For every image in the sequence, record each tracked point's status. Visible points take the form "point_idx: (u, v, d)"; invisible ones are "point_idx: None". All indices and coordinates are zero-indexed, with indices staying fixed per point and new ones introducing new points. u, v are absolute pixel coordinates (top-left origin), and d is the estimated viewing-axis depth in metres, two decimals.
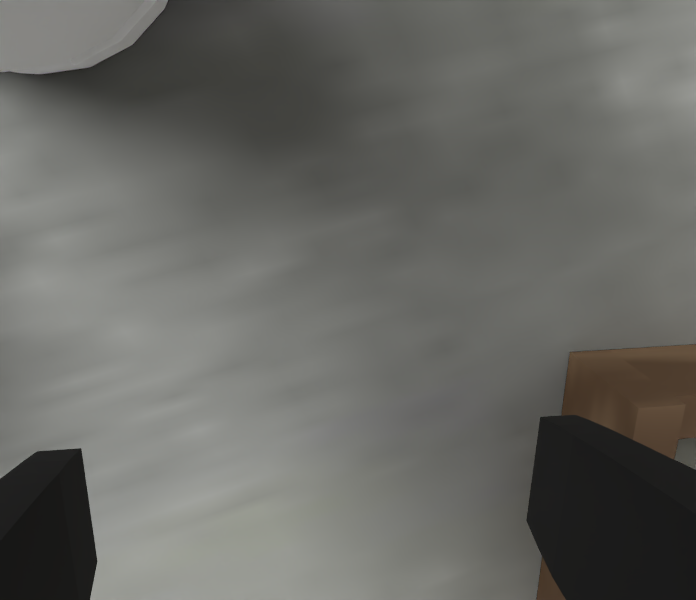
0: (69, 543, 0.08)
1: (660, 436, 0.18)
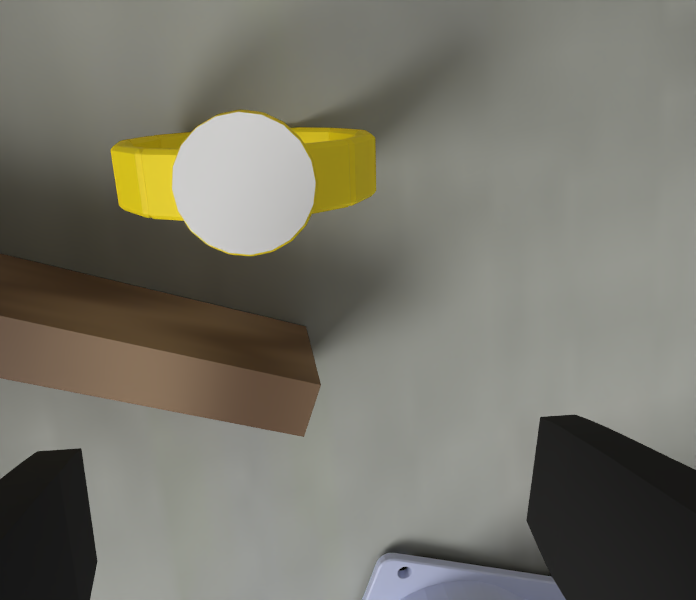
0: (69, 543, 0.08)
1: None
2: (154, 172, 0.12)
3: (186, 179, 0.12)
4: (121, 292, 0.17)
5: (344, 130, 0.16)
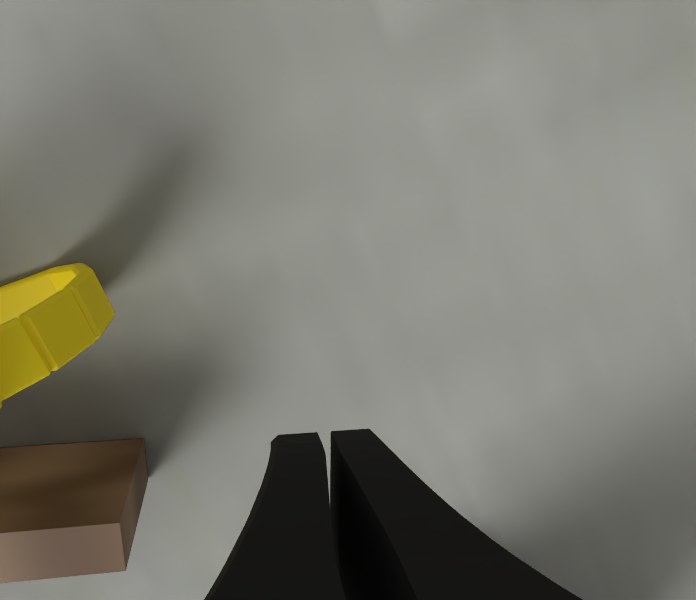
0: None
1: None
2: None
3: None
4: None
5: (76, 270, 0.16)
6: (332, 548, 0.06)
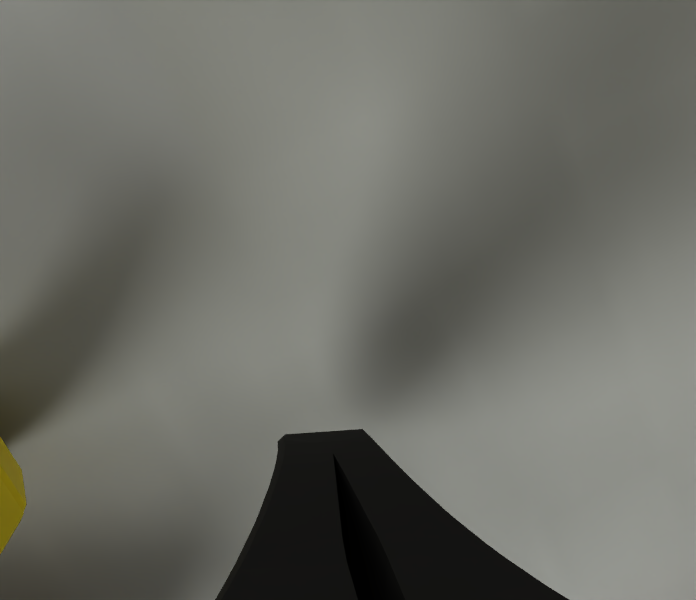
0: None
1: None
2: None
3: None
4: None
5: None
6: (342, 547, 0.06)
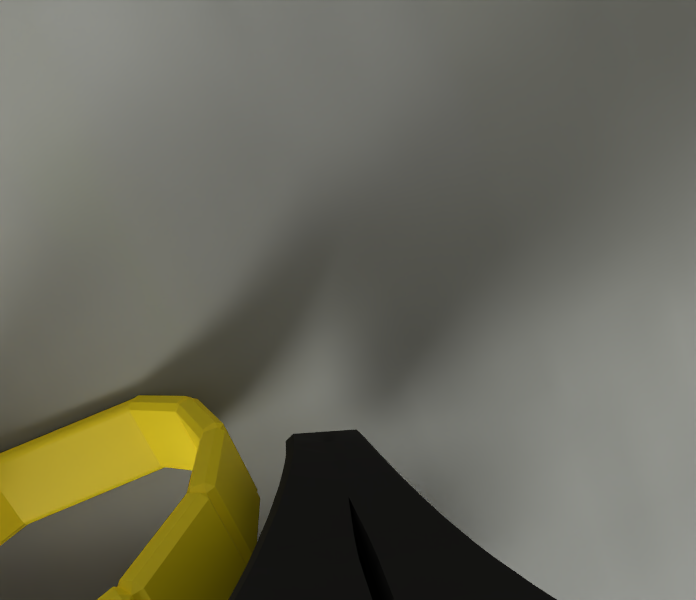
0: None
1: None
2: None
3: None
4: None
5: (190, 419, 0.09)
6: (354, 546, 0.06)
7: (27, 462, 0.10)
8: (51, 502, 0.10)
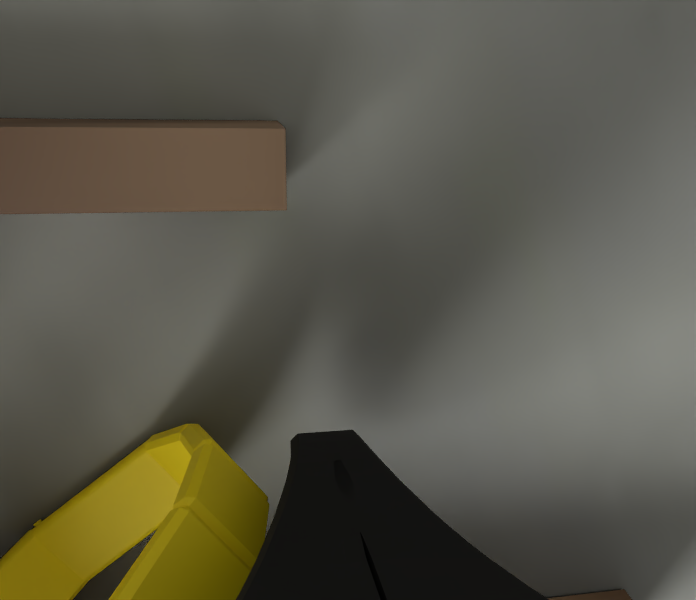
0: None
1: None
2: None
3: None
4: None
5: (186, 443, 0.09)
6: (361, 545, 0.06)
7: (69, 522, 0.11)
8: (102, 555, 0.11)
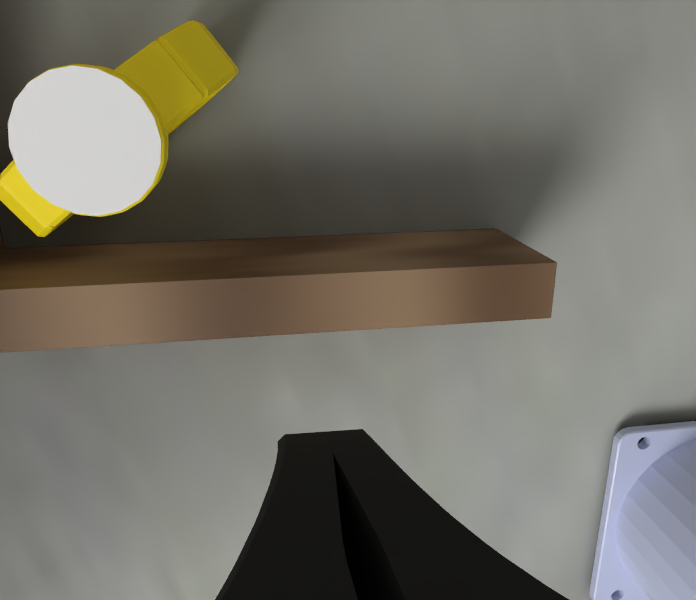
0: None
1: None
2: (20, 187, 0.12)
3: (36, 172, 0.11)
4: (329, 241, 0.18)
5: None
6: (342, 547, 0.06)
7: None
8: None
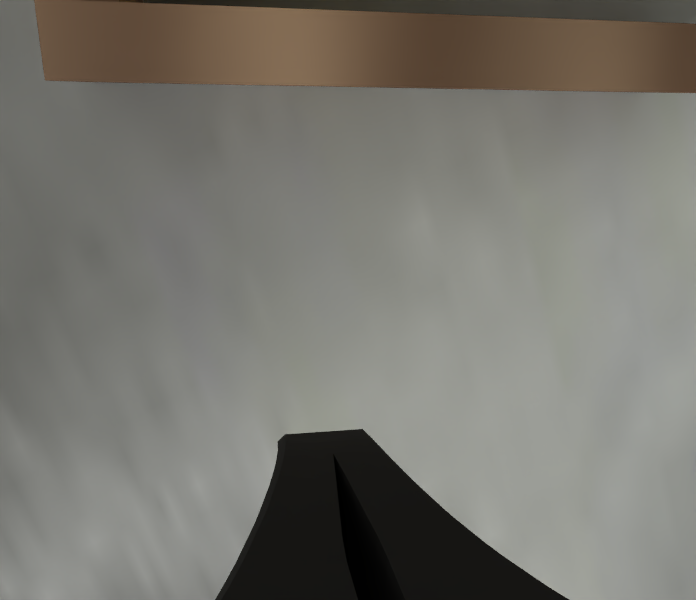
0: None
1: (92, 34, 0.12)
2: None
3: None
4: None
5: None
6: (343, 547, 0.06)
7: None
8: None
